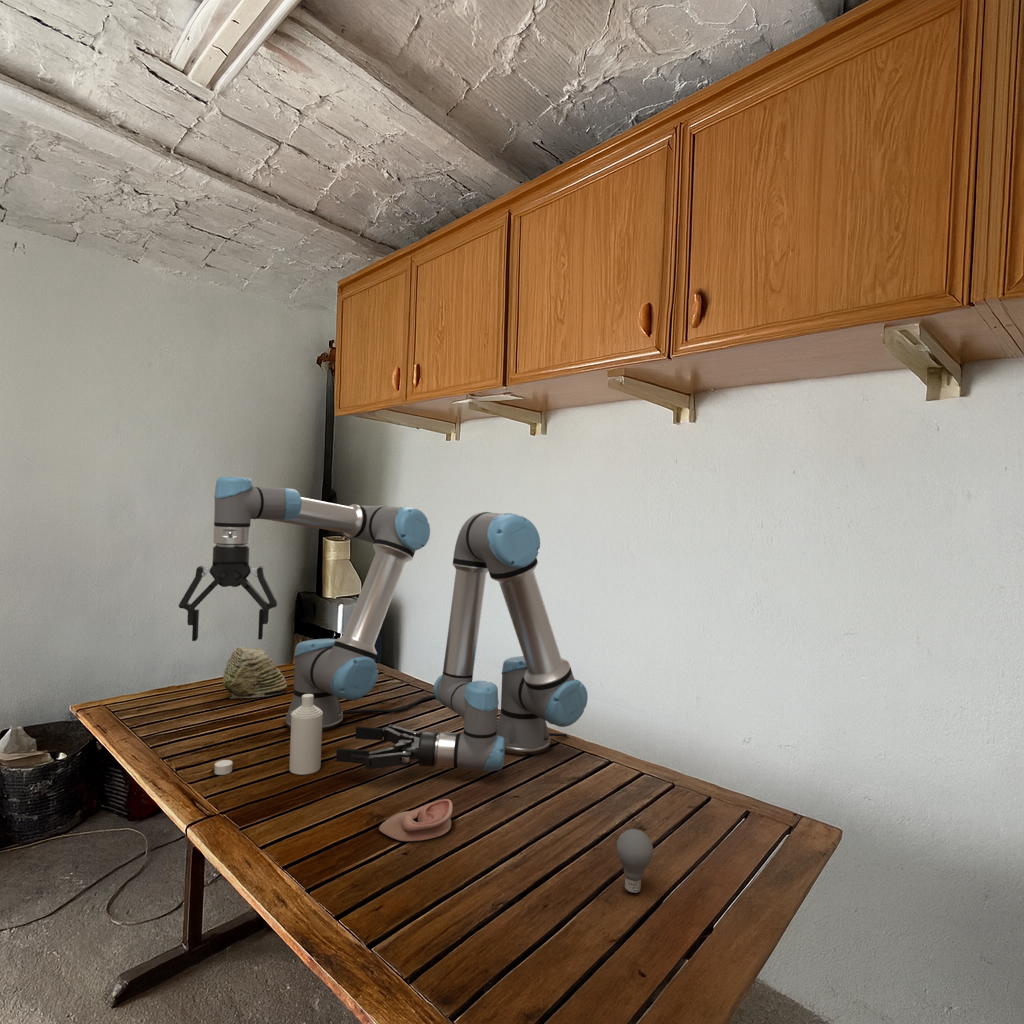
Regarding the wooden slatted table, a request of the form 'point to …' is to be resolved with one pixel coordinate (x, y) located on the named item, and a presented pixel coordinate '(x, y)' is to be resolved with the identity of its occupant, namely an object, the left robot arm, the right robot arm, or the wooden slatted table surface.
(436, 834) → the anatomical model
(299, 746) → the bottle
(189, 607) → the left robot arm
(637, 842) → the light bulb
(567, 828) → the wooden slatted table surface
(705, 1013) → the wooden slatted table surface
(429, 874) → the wooden slatted table surface
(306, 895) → the wooden slatted table surface
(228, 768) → the cap
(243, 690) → the fossil
